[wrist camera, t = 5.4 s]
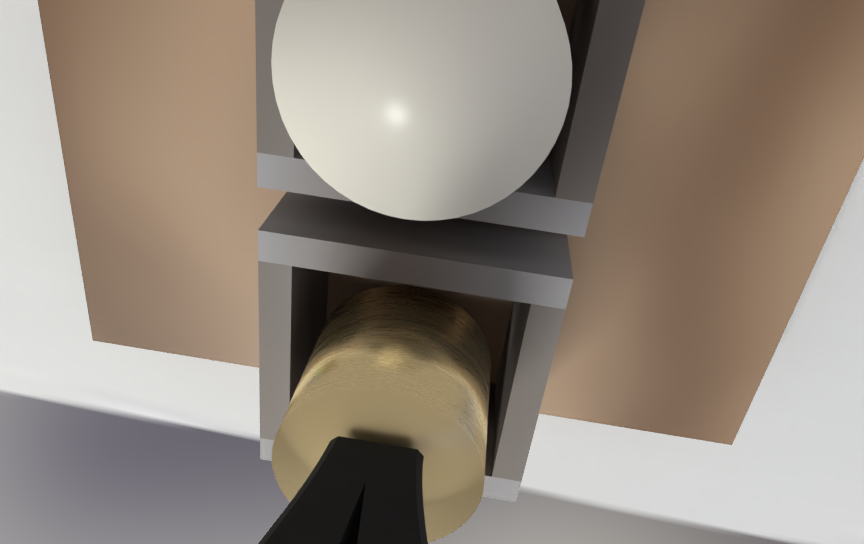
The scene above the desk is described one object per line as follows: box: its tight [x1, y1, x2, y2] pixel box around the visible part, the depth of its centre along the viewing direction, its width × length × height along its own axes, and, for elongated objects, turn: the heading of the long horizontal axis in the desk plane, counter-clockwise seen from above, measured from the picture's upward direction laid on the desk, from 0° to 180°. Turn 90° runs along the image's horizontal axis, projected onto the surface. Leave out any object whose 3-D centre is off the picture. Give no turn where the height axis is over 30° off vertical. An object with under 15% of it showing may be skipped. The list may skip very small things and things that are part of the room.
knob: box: [272, 286, 491, 542], centre depth 12 cm, size 3×3×3 cm
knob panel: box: [38, 0, 864, 502], centre depth 12 cm, size 16×18×5 cm
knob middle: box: [271, 0, 572, 221], centre depth 9 cm, size 3×3×3 cm
